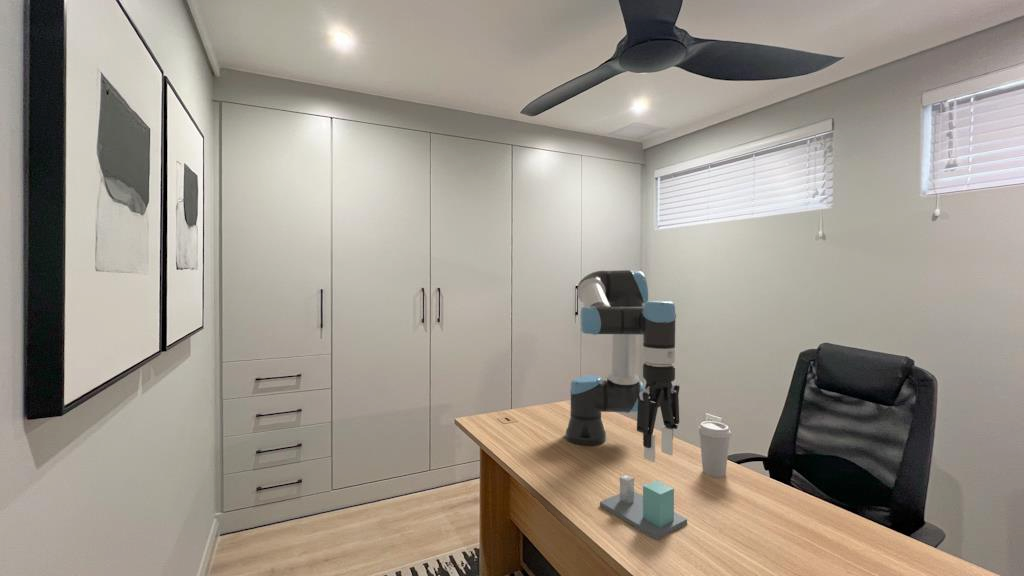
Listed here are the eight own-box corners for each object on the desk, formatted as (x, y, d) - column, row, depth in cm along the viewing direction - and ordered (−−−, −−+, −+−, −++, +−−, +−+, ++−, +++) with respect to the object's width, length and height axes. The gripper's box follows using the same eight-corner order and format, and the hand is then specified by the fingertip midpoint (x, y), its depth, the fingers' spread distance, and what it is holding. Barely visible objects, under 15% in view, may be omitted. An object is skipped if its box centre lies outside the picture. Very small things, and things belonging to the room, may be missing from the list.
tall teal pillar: (642, 517, 106) (642, 485, 106) (656, 511, 109) (656, 480, 109) (660, 527, 102) (660, 494, 102) (673, 520, 105) (673, 488, 105)
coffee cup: (735, 481, 128) (735, 431, 127) (701, 478, 129) (701, 429, 129) (726, 467, 137) (726, 421, 137) (694, 465, 139) (694, 419, 139)
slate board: (599, 506, 114) (599, 501, 114) (630, 493, 120) (630, 489, 120) (656, 540, 99) (656, 535, 99) (687, 523, 105) (687, 518, 105)
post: (619, 500, 114) (619, 476, 114) (626, 498, 116) (626, 474, 115) (627, 505, 112) (627, 480, 112) (633, 502, 113) (633, 478, 113)
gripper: (645, 371, 96) (645, 471, 97) (695, 361, 107) (695, 452, 107) (620, 365, 103) (620, 460, 103) (669, 357, 113) (669, 443, 114)
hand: (658, 456), depth 105 cm, fingers open, 6 cm apart
